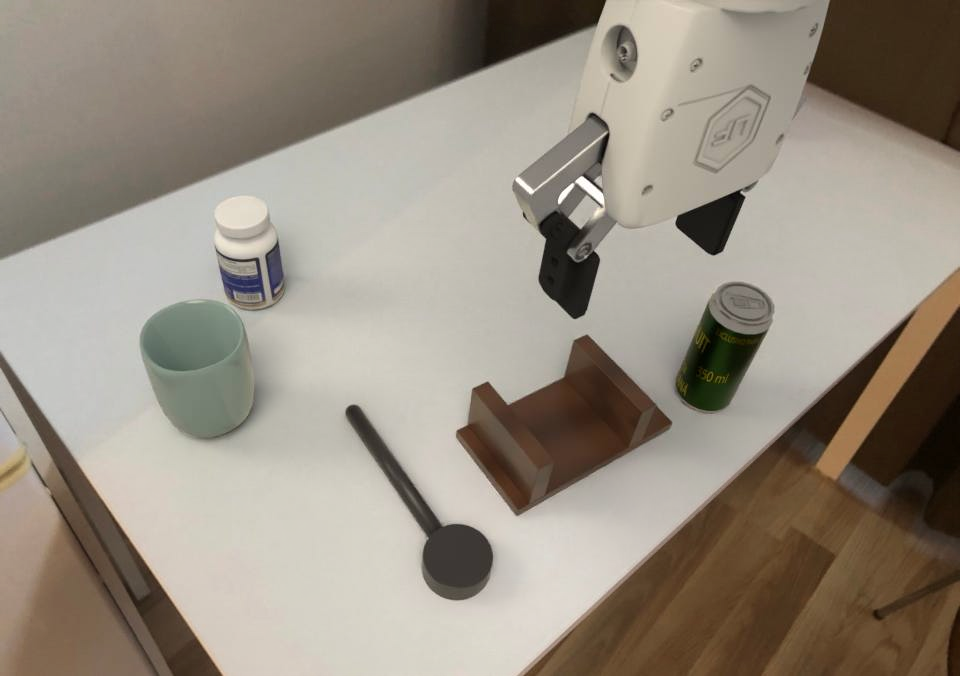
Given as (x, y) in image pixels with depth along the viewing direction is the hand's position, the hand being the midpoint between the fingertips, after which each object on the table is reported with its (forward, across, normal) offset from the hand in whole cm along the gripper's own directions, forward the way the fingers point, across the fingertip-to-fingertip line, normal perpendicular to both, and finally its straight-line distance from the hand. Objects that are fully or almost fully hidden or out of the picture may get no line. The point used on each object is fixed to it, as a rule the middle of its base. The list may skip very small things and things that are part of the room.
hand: (632, 268), depth 42 cm
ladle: (+28, -8, +8) cm, 30 cm away
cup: (+28, -18, +24) cm, 41 cm away
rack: (+28, +7, +7) cm, 30 cm away
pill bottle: (+28, -9, +36) cm, 47 cm away
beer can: (+28, +21, +4) cm, 36 cm away
